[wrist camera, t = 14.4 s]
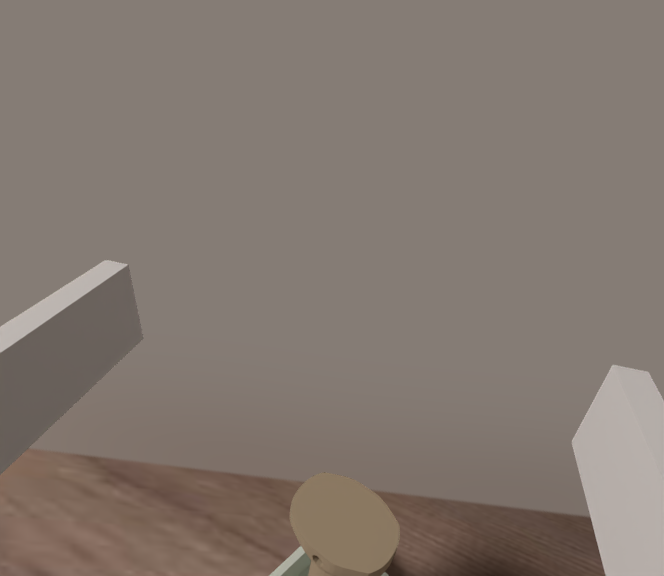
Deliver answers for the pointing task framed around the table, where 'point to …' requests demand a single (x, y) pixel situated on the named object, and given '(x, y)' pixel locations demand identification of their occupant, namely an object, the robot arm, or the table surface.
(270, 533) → the table surface
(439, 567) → the table surface
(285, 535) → the table surface
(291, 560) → the bin
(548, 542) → the table surface
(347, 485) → the handle
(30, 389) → the robot arm
